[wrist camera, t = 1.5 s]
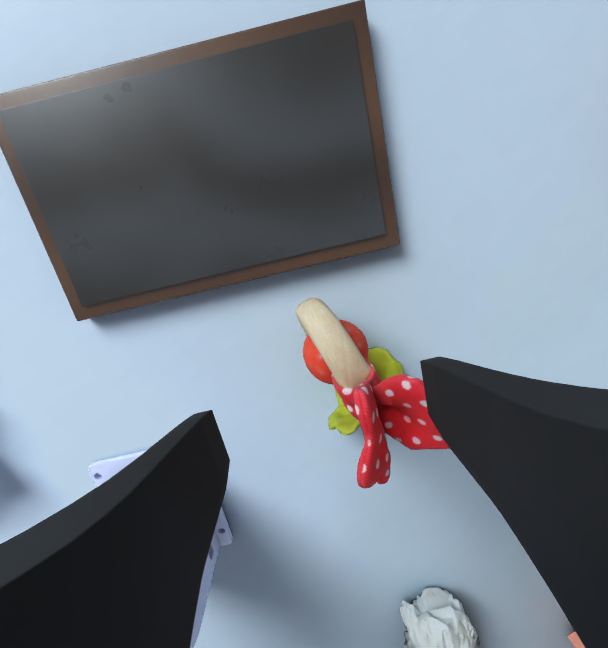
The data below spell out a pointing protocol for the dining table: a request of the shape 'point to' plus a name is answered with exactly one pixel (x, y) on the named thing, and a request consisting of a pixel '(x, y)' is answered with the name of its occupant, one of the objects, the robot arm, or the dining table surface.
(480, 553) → the dining table surface
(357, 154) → the desk board
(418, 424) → the bird rattle
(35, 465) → the dining table surface
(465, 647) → the raccoon plush
